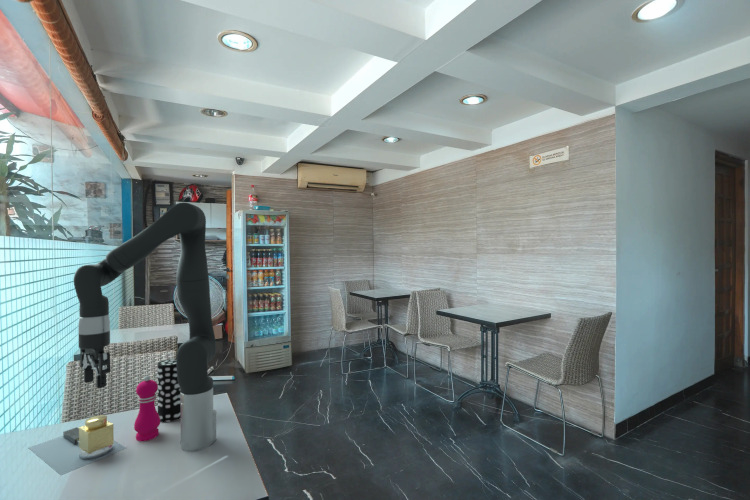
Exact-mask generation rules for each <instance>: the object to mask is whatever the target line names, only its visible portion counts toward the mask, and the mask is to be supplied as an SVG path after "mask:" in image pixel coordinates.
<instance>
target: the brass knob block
mask: <svg viewBox="0 0 750 500" xmlns="http://www.w3.org/2000/svg"><path fill="white" fill-rule="evenodd" d="M78 428H79V448H80V449H82V450H83V451H85V452H86V453H88V454H89V453H92V452H94V451H97V450H99V449H102V448H104V447H107V446H109V445H112V444H114V441H115V440H114V423H113V422H110V421H108V416H107V415H105V414H98V415H94V416H91V417H89V418H87V419H85V421H84V425H82V426H79V427H78Z"/></svg>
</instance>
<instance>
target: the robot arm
mask: <svg viewBox="0 0 750 500" xmlns="http://www.w3.org/2000/svg"><path fill="white" fill-rule="evenodd" d="M206 224H207V220H206V215H205V212H204V211H203V210H202V208H200V207H199V206H197V205H196V204H195V205H194V204H193V203H189V202H178V203H176V204H174V205H173V206H172V207H170V208H169V209H168V210H167V211H166V212H164V214H162V215H161V216H159V218H158V219H156V220H155V221H154V222H153V223H151V224H150V225H149V226H147V227H145V229H143V230H142V231H141V232H139V233H137V234H136V235H134V236H133V237H131V238H130V239H128V240H127V241H124V242H123V243H121V244H120V245H118V246H117V247H115V248H113V249H112V250H110V251H109V252H108V253H106V255H105V258H104V259H103V260H100V261H99V262H97V263H94V264H84V265H81V266H79V267H78V268H77V269H76V271H74V275H73V286H74V289H75V293H76V297H77V299H78V302H79V306H78V307H79V309H78V310H79V314H78V315H79V320H78V348H79V349H80V350H79V352H80V353H79V358H80V359H79V367H80V368H82V369H81V370H82V371H83V383H85V384H87V383H92V382H94V379H95V378H94V377H95V375H94V371H95V374H96V388H97V389H102V388H105V387H107V374H109V373H111V353H110V351H107V352H105V348H106V347H107V346H109V345H110V344H111V321H110V315H109V314H110V307H109V305H110V303H109V299H108V298H109V297H107V296H106V295H103V291H102V287H104V286H107V285H109V284H111V283H112V282H113V281H115V280H116V279H117V278H119V276H121V275H122V274H123V273H124V272H125V271H127V270H129V269H131V268H132V267H133V266H135V265H137V264H138V263H140V262H141V261H143V260H144V259H146V258H147V257H148V256H150V254H152V253H153V252H154V251H155V250H156V249H157V248H158V247H159V246H160V245H162V244H163V243H165V242H166V241H168V240H169V239H171V238H173V237H176V236H178V235H179V241H180V242H179V243H180V254H179V260H178V263H177V268H176V275H175V276H176V279H175V281H176V291H177V292H176V293H177V299H178V302H179V304H180V306H181V308H182V310H183V311H184V312H183V313H185V316H186V318H187V322H188V326H189V327H188V329H189V330H188V331H189V339H188V340H186V341H185V342H183V343H181V344H180V346H179V347H178V348H177V352H176V358H175V359H176V366H177V380H178V384H179V386H180V405H181V418H180V449H181V450H182V451H184V452H197V451H201V450H204V449H206V448H208V447H211V446H212V445H213V443H214V442H215V441H217V410H215V409H214V379H213V377H212V376H210V375H209V372H208V363H210V362H211V361H212V360H213V359H214V358H215V356H216V354H217V340H216V336H215V330H214V326H213V320H212V318H213V317H212V305H211V290H210V289H211V287H210V276H209V268H208V267H209V265H208V259H207V253H206V228H207V225H206Z"/></svg>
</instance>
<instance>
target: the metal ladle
mask: <svg viewBox="0 0 750 500" xmlns="http://www.w3.org/2000/svg"><path fill="white" fill-rule="evenodd" d="M62 433H63V434H62V436H63V438H65V439H66V440H68V441H69V442H71V443H72V444H74V445H78V446H79V427H74V428H70V429H67V430H65V431H63V432H62ZM112 449H113V444H112V445H109V446H107V447H104V448H102V449H99V450H97V451H94V452H92V453H89V454H88V453H86V452H85V451H83V450H82V449H79V458H80V459H82V460H91V459H96V458H99V457H102V456H104V455H106V454H108V453H109V452H111V451H112Z"/></svg>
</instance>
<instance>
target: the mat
mask: <svg viewBox="0 0 750 500" xmlns="http://www.w3.org/2000/svg"><path fill="white" fill-rule="evenodd" d="M28 449H29V450H30V452H32V453H33V454H35V455H36V457H38V458H39V459H41V460H42V461H43V462H44V463H45V464H47V466H49V467H50V468H51V469H53V470H54V471H55V472H56V473H58V474H59V475H60V476H63V475H65V474H67V473H70V472H72V471H75V470H78V469H80V468H82V467H84V466H87V465H90V464H92V463H94V462H97V461H99V460H102V459H104V458H106V457H108V456H110V455H113V454H116V453H117V452H121V451H123V450H125V449H127V447H126V446H124V445H123V444H121V443H119V442H118V441H116V440H114V444H113V449H112V451H111V452H109V453H108V454H106V455H104V456H102V457H99V458H96V459H91V460H82V459H80V458H79V449H80V448H79V446H78V445H74V444H72V443H71V442H69V441H68V440H66V439H65V438H63V435H61V436H58V437H55V438H52V439H50V440H46V441H43V442H40V443H37V444H35V445H32V446H29V447H28Z"/></svg>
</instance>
